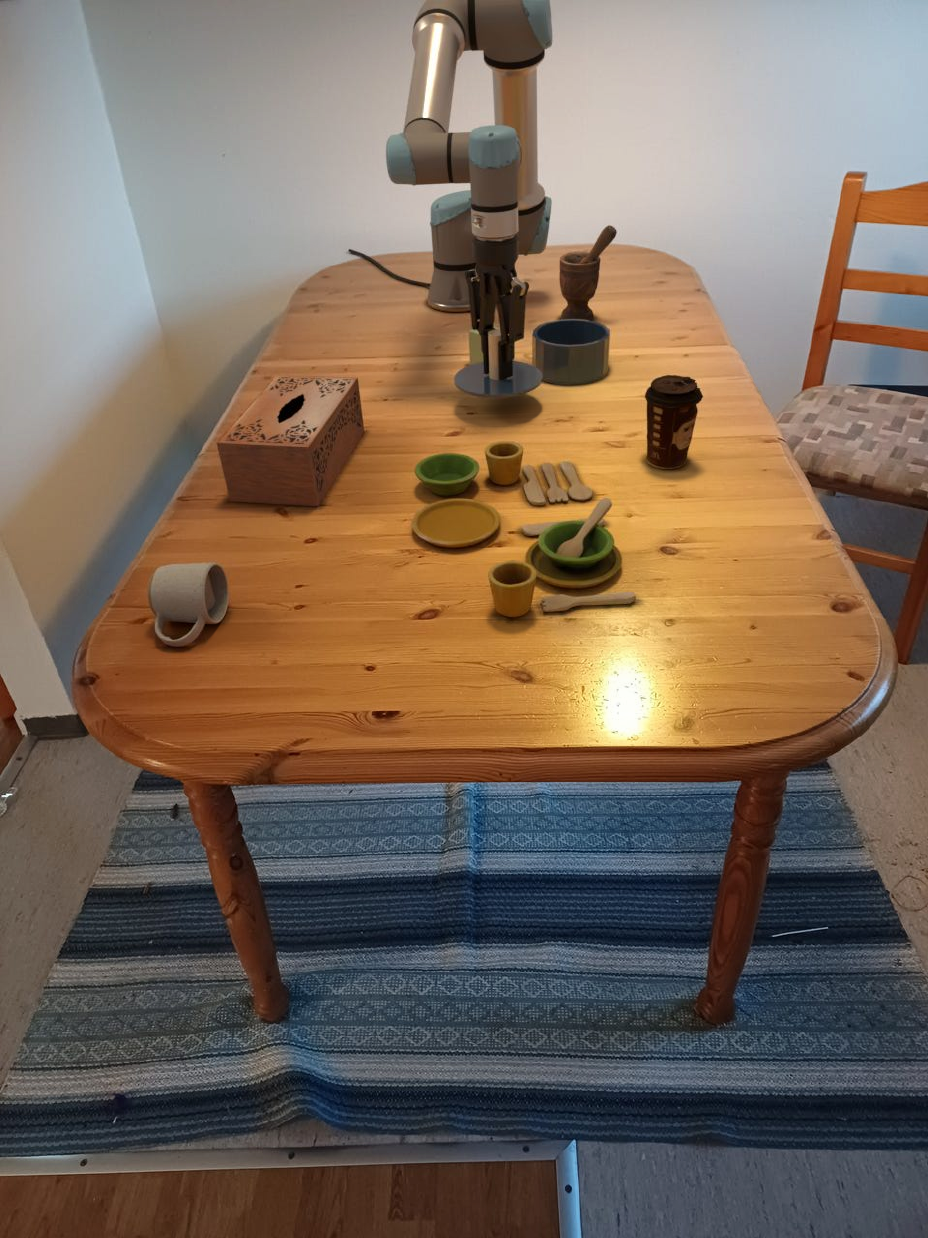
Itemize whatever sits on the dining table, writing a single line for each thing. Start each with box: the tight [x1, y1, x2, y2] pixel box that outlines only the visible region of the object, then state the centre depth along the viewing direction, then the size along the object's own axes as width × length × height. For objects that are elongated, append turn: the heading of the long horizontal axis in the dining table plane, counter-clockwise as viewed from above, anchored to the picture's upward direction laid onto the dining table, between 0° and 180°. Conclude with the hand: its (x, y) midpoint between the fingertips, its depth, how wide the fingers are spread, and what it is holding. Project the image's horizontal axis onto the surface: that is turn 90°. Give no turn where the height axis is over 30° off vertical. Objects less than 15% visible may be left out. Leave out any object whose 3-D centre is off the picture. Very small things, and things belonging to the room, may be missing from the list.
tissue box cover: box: [216, 374, 365, 507], centre depth 145 cm, size 26×14×10 cm, turn 169°
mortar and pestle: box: [558, 225, 618, 321], centre depth 191 cm, size 12×9×20 cm
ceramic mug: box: [146, 561, 230, 648], centre depth 112 cm, size 11×8×8 cm
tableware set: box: [411, 440, 637, 618], centre depth 126 cm, size 41×28×6 cm
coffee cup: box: [644, 374, 704, 470], centre depth 140 cm, size 9×8×13 cm
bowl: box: [531, 319, 611, 386], centre depth 173 cm, size 15×15×8 cm
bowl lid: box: [453, 329, 544, 399], centre depth 157 cm, size 16×16×9 cm
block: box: [468, 326, 500, 365], centre depth 177 cm, size 5×5×7 cm
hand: (498, 374), depth 159 cm, fingers closed on bowl lid, 3 cm apart
